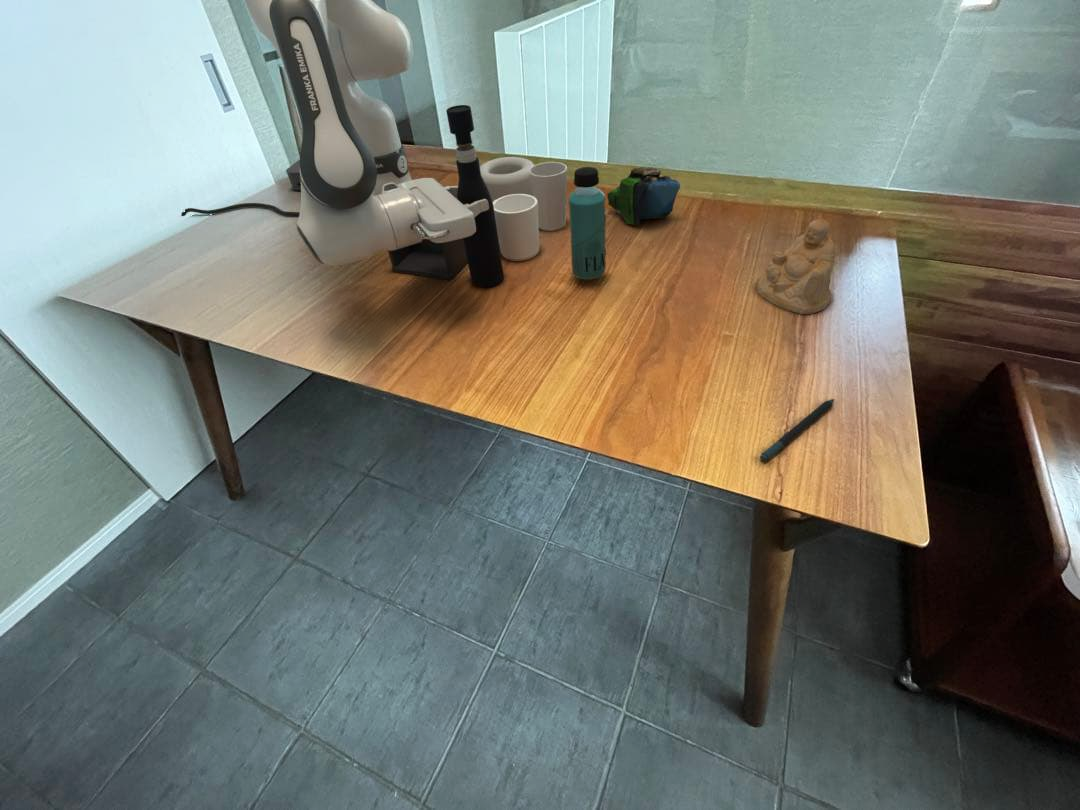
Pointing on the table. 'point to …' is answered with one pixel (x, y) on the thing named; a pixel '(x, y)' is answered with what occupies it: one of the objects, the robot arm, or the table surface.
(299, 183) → the streaming box
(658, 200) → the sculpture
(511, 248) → the mug
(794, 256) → the statue
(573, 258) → the beverage bottle
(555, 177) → the cup
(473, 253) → the wine bottle
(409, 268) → the book rack
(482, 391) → the table surface
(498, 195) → the thick torus
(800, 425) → the pen
